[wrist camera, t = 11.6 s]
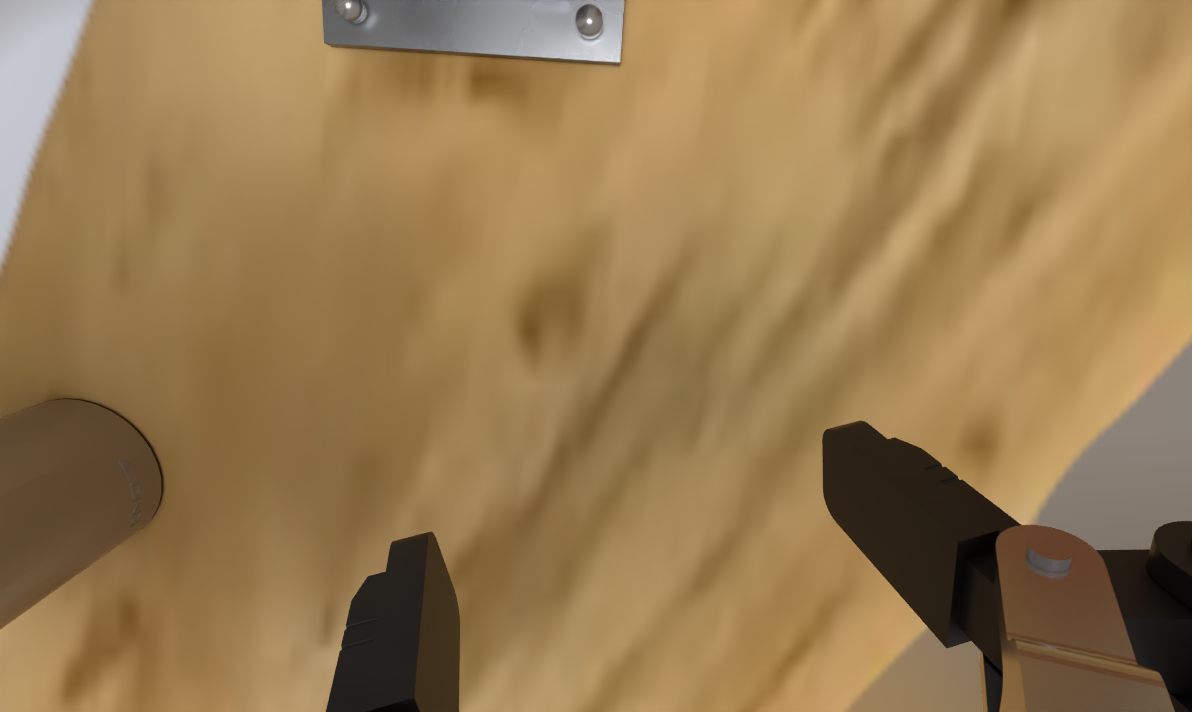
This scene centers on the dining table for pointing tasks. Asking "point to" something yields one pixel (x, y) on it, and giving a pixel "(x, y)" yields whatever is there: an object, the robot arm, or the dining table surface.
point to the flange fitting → (481, 28)
